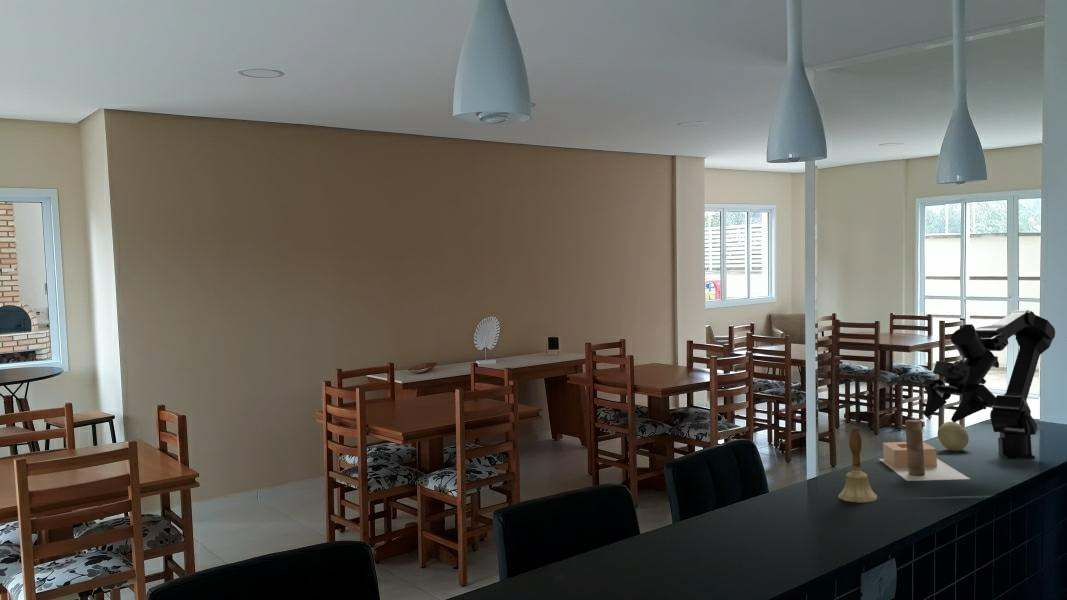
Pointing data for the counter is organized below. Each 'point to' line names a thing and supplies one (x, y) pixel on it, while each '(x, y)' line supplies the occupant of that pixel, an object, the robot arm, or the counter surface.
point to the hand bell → (857, 475)
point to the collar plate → (931, 474)
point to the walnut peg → (915, 447)
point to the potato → (953, 436)
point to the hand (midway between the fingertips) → (938, 418)
